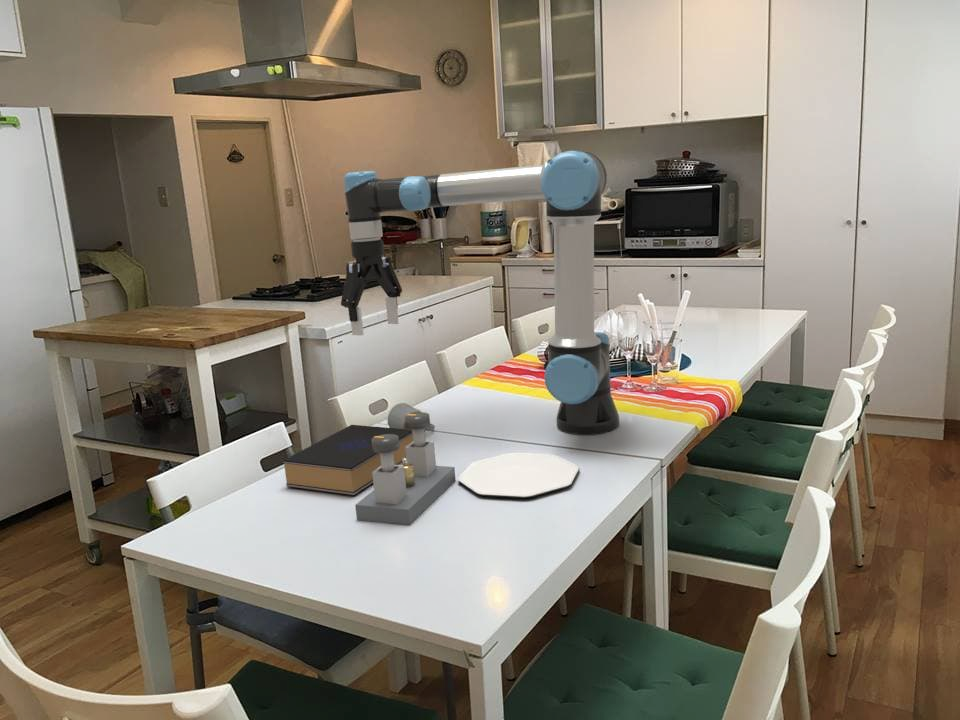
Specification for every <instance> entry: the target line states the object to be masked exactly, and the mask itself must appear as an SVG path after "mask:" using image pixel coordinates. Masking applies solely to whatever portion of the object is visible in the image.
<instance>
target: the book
mask: <svg viewBox="0 0 960 720" xmlns="http://www.w3.org/2000/svg"><path fill="white" fill-rule="evenodd" d="M383 434H395V435H397V436H398V437H399V447H400V448H399V449H398V450H396V451H393V457H394V465H400V464H403V462H402V458H406V451H405V447H406V446H408V445H409V444H410V443H412V442H413V432H412V430H408V429H397V428H390V427H386V426H385V427H383V426H373V425H372V426H371V425H362V424H361V425H360V424H359V425H358V424H350V425H348V426H347V427H344V428H343V429H341V430H338V431H336V432H335V433H333V434H331V435H329V436H327V437H326V438H325V437H324V438H323V439H322V440H319V441H317V442H316V443H313V444H312V445H309V446H307V447H306V448H304V449H302V450H301V451H298V452H297V453H295V454H292V455H290V456H289V457H286V458H284V459H283V460H282V462H283V464H284V465H283V466H284V472H285V481H286V483H285V485H286V487H289V488H294V489H296V488H297V489H302V490H303V489H304V490H311V491H319V492H324V493H325V492H326V493H333V494H341V495H348V496H356V495H358V494H359V493H361V491H363V490H364V489H366V488H368V487H369V486H371V485H372V484H373V475H372V472H373V471H375V470H376V469H377V468H379V467H380V466H381V457H380V453H376V452H374V451H373V449H372V438H373V437H375V436H378V435H383Z"/></svg>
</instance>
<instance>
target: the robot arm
mask: <svg viewBox="0 0 960 720" xmlns="http://www.w3.org/2000/svg"><path fill="white" fill-rule="evenodd" d="M343 178H344V179H343V180H344V196H345V203H346V209H347V218H348V220H347V221H348V226H349V227H348V229H349V237H350V238H349V239H350V240H353V241H351V243H350V250H351V256H352V258H354V259H355V263H346V275H345V282H344V285H343V291H342V295H341V299H340V300H341V301H340V305H341V306H342V307H343V308H347V309H348V319H349V321H350V326H351V333H352V334H351V335H352V336H364V325H363V319H362V318H363V317H362V308H361V306H359V303H360V302H361V298H362V295H363V293H364V290H365V288H366V285H367V284H369V281H373V280H376V282H377V283H378V284H379V286H380V287H381V288H382V290H383V291H384V293H385V294H386V295H387V296H386V297H385V298H384V299H385V308H386V317H387V324H389V325H398V324H399V313H398V309H399V308H398V298H399V297H401V294H402V292H403V288H402V286H401V283H400V282H399V279H398V277H397V275H396V272H395V270H394V268H393V265H392V259H391V258H392V257H390V256H384V254H385V248H384V247H385V246H384V240H383V239H381V238H382V237H383V224H382V219H381V218H382V217H381V213H393V212H394V213H396V212H415V211H421V210H422V211H423V210H426V209H427V208H428V209H429V208H430V209H431V208H439V207H440V208H441V207H448V206H449V207H450V206H461V205H474V204H488V203H499V202H512V201H513V202H514V201H525V200H537V199H538V200H539V199H540V200H541V199H545V206H546V207H545V211H546V213H545V214H546V219H548V220H549V221H550V223H551V224H552V225H553V267H554V269H553V273H554V284H553V285H554V335H552V337H550V338H549V340H548V343H547V344H548V346H547V347H548V348H547V350H548V352H547V353H548V363H547V365H546V368H545V369H544V371H545V372H544V384H545V387H546V389H547V391H548V392H549V394H550V395H551V396H552V397H553V398H554V399H555V400H556V401H559V402H560V403H559V407H558V410H557V414H556V427H557V429H558V430H559V431H562V432H564V433H568V434H572V435H573V434H574V435H597V434H598V435H599V434H605V433H607V432H608V433H609V432H612V431H613V430H616V429H617V428H618V427H619V426H620V416H619V413H618V410H617V407H616V404H615V401H614V399H613V395H612V391H611V390H612V389H611V366H610V365H611V363H610V362H611V361H610V347H611V345H610V341H609V340H610V339H609V335H608V334H607V333H605V332H599V331H597V332H596V331H595V248H594V247H595V223H596V222H597V221H598V220H599V219H600V218H601V216H602V194H603V193H604V191H605V189H606V186H607V182H608V173H607V169H606V167H605V164H604V163H603V161H602V160H601V159H600V158H599V157H598V156H596V155H595V154H593V153H591V152H588V151H581V150H568V151H563V152H561V153H558V154H557V155H555V156H554V157H552V158H551V159H547V160H546V161H545V162H544V163H543V164H536V165H535V164H533V165H525V166H514V167H505V168H494V169H492V168H491V169H483V170H472V171H471V170H470V171H464V172H452V173H451V172H449V173H442V174H432V175H431V174H430V175H428V174H427V175H420V176H415V175H409V176H403V177H402V176H401V177H393V178H391V177H390V178H378V177H377V173H376V171H374V170H367V171H354V172H348V173H346V174H345V175H344V177H343Z"/></svg>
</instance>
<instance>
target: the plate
mask: <svg viewBox="0 0 960 720" xmlns="http://www.w3.org/2000/svg"><path fill="white" fill-rule="evenodd" d="M579 471H580V467H579V466H578V465H577V464H574V463H573V462H570V461H568V460H567V459H564V458H563V457H560V456H558V455H556V454H552V453H529V452H526V453H525V452H508V453H504V454H500V455H497V456H496V455H495V456H492V457H488V458H484V459H479V460H475V461H473V462H471V463H470V464H469V465H468V466H467V467H466V468H465V469H464V471H463V472H462V473H461V474H460V475H459V476H458V477H457V482H459V483H460V484H462V485H463V486H465V487H466V488H468V489H469V490H471V491H472V492H473V493H475V494H476V495H477V496H481V497H482V496H483V497H494V498H495V497H500V498H516V499H529V498H533V497H537V496H541V495H545V494H549V493H552V492H556V491H558V490H562V489H567V488H569V487H570V486H571V485H572V484H573V481H574V480H575V478H576V476H577V474H578V472H579Z"/></svg>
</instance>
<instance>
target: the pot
mask: <svg viewBox="0 0 960 720" xmlns="http://www.w3.org/2000/svg"><path fill="white" fill-rule="evenodd" d="M402 462H403V464H400V465H404V471H405V482H406V488H409V487H413V486H414V485H415V479H414V469H413V464H411V463H408V460H407V458H402Z"/></svg>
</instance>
